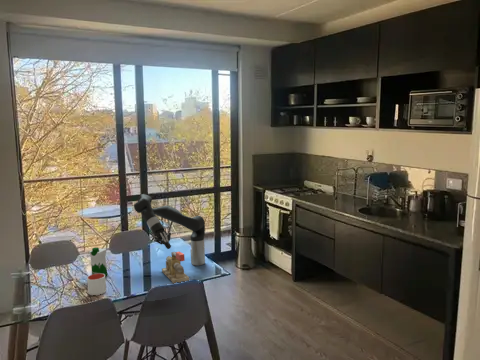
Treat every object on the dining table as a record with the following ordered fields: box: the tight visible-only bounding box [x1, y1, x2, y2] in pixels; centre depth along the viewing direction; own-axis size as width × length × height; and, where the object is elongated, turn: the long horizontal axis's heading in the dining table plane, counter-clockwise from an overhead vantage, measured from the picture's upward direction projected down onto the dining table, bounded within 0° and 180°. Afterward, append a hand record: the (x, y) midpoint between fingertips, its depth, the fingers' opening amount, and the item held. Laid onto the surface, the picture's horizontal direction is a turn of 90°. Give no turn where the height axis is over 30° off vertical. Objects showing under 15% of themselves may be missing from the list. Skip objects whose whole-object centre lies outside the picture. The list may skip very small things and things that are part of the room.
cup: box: [86, 273, 107, 296], centre depth 241 cm, size 10×10×10 cm
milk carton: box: [88, 247, 109, 278], centre depth 265 cm, size 9×9×20 cm
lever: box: [170, 251, 185, 262], centre depth 258 cm, size 3×15×4 cm, turn 33°
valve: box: [161, 255, 190, 284], centre depth 264 cm, size 24×10×14 cm, turn 28°
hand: (169, 248), depth 250 cm, fingers closed
